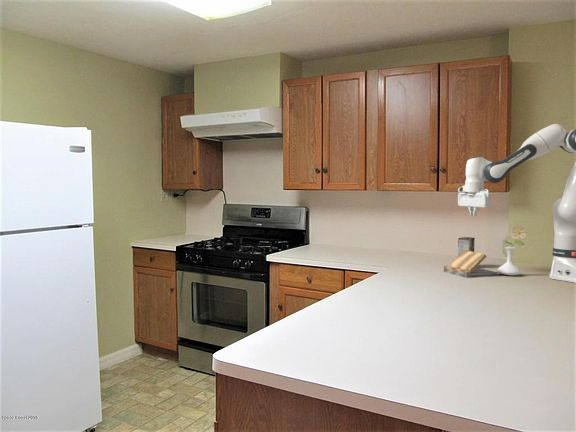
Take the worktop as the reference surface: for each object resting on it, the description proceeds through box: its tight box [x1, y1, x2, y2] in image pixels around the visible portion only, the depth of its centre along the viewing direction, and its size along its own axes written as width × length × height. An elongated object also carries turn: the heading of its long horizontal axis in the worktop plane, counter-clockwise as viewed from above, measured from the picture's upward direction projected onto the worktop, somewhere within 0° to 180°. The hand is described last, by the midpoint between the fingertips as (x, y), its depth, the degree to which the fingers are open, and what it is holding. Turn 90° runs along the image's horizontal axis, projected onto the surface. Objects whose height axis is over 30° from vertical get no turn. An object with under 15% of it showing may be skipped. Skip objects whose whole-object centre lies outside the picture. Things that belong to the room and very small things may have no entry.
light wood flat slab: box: [449, 250, 487, 273], centre depth 239 cm, size 15×12×2 cm
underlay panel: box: [443, 265, 499, 278], centre depth 240 cm, size 17×19×3 cm
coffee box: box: [457, 236, 475, 257], centre depth 260 cm, size 9×6×16 cm
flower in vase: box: [496, 225, 528, 276], centre depth 236 cm, size 13×11×25 cm
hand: (473, 215), depth 241 cm, fingers closed
